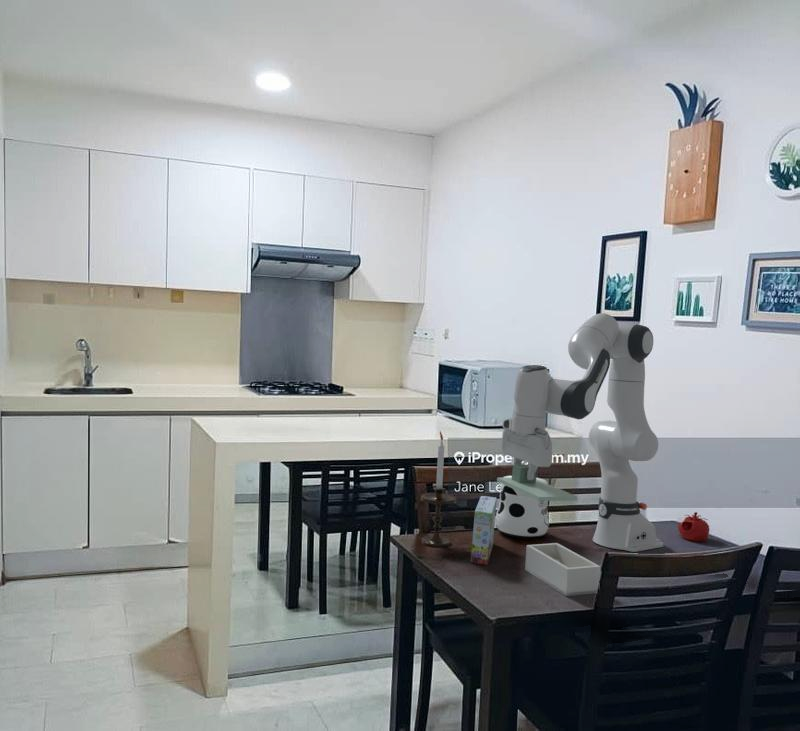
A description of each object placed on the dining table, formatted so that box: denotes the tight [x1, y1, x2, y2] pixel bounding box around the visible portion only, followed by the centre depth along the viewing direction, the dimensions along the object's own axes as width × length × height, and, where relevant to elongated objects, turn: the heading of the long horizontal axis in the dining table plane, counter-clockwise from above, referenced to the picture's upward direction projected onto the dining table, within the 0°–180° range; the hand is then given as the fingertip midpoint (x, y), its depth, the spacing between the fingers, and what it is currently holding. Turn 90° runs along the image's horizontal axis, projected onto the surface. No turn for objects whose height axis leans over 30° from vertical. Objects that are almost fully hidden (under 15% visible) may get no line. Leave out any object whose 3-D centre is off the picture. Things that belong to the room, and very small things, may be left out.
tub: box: [524, 542, 601, 597], centre depth 188 cm, size 10×20×7 cm, turn 20°
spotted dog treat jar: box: [495, 475, 550, 539], centre depth 230 cm, size 17×17×18 cm
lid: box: [496, 464, 578, 502], centre depth 181 cm, size 11×21×6 cm, turn 21°
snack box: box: [470, 495, 498, 566], centre depth 208 cm, size 21×6×15 cm, turn 168°
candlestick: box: [420, 430, 457, 548], centre depth 215 cm, size 11×11×35 cm
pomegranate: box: [677, 511, 710, 543], centre depth 235 cm, size 10×10×9 cm
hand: (523, 477), depth 186 cm, fingers closed on lid, 4 cm apart
